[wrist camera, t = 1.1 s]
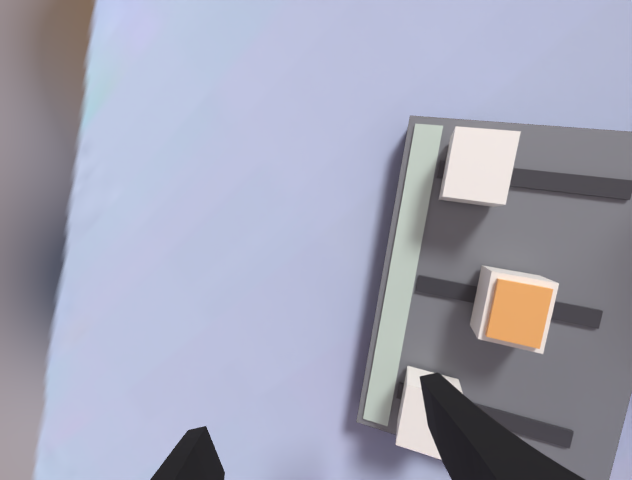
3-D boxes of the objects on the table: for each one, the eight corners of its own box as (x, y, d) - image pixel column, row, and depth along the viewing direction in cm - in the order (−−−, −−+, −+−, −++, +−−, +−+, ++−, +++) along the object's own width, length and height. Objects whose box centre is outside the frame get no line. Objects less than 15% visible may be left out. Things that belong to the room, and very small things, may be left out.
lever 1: (458, 379, 20) (465, 400, 18) (447, 434, 20) (452, 463, 18) (407, 365, 21) (407, 384, 18) (397, 419, 21) (395, 444, 19)
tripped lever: (539, 275, 19) (561, 284, 16) (526, 337, 19) (545, 356, 16) (481, 265, 19) (493, 272, 17) (469, 324, 20) (478, 341, 17)
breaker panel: (667, 145, 19) (700, 135, 16) (585, 475, 20) (605, 504, 18) (410, 124, 22) (409, 114, 20) (360, 406, 24) (355, 423, 22)
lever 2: (506, 143, 19) (520, 131, 16) (493, 206, 19) (505, 204, 17) (450, 138, 19) (455, 126, 17) (438, 199, 20) (442, 196, 17)
